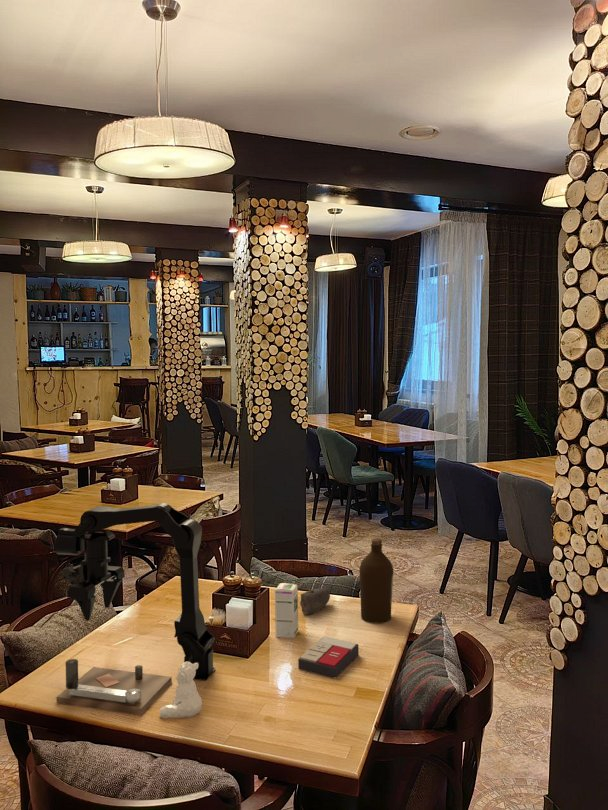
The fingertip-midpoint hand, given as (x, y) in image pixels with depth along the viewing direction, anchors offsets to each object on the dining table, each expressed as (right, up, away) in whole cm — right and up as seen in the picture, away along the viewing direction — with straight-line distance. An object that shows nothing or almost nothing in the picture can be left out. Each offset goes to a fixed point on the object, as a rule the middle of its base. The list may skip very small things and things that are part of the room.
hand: (97, 613), depth 176 cm
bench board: (+9, -15, -13) cm, 22 cm away
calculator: (+61, -15, +4) cm, 63 cm away
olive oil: (+77, -12, +34) cm, 86 cm away
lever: (+7, -13, -19) cm, 25 cm away
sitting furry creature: (+27, -16, -22) cm, 38 cm away
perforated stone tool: (+58, -12, +41) cm, 72 cm away
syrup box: (+49, -13, +22) cm, 56 cm away
